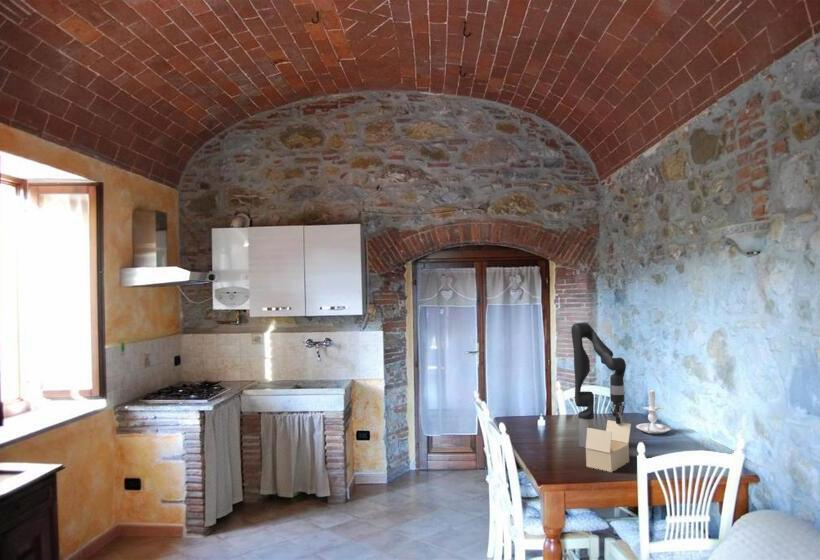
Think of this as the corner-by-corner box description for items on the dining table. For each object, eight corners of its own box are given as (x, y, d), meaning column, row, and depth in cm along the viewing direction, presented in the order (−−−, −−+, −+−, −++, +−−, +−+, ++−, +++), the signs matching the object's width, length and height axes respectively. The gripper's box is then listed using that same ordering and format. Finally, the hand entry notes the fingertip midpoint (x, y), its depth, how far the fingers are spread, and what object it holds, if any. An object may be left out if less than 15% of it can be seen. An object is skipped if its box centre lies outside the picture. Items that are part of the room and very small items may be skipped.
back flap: (604, 438, 300) (604, 438, 300) (628, 443, 290) (628, 443, 291) (607, 420, 303) (607, 420, 304) (630, 423, 294) (631, 424, 294)
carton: (604, 456, 300) (604, 439, 300) (629, 461, 290) (628, 443, 290) (586, 466, 285) (585, 448, 285) (611, 472, 275) (610, 453, 275)
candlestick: (631, 435, 339) (629, 392, 340) (640, 426, 359) (638, 385, 360) (665, 440, 327) (663, 395, 327) (673, 430, 347) (671, 388, 347)
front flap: (587, 427, 287) (587, 427, 286) (611, 431, 277) (611, 431, 277) (586, 447, 285) (585, 447, 284) (610, 453, 275) (609, 452, 275)
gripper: (615, 390, 305) (617, 420, 305) (605, 394, 296) (606, 424, 296) (628, 392, 300) (629, 422, 300) (618, 395, 291) (619, 427, 290)
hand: (618, 423), depth 298 cm, fingers closed
